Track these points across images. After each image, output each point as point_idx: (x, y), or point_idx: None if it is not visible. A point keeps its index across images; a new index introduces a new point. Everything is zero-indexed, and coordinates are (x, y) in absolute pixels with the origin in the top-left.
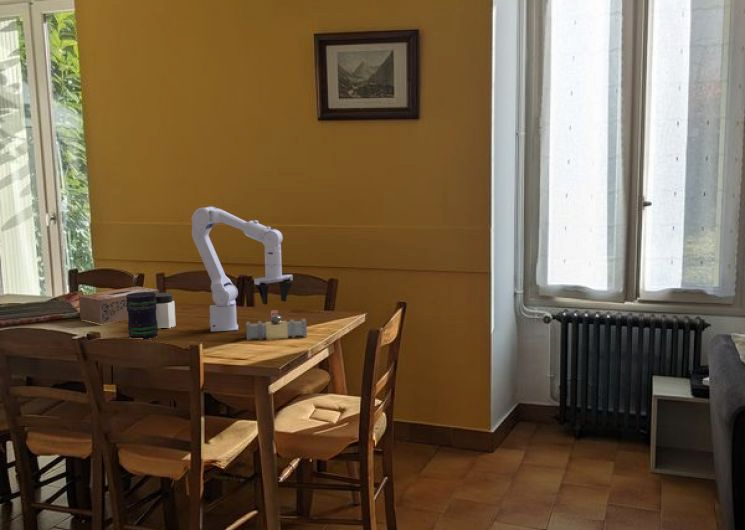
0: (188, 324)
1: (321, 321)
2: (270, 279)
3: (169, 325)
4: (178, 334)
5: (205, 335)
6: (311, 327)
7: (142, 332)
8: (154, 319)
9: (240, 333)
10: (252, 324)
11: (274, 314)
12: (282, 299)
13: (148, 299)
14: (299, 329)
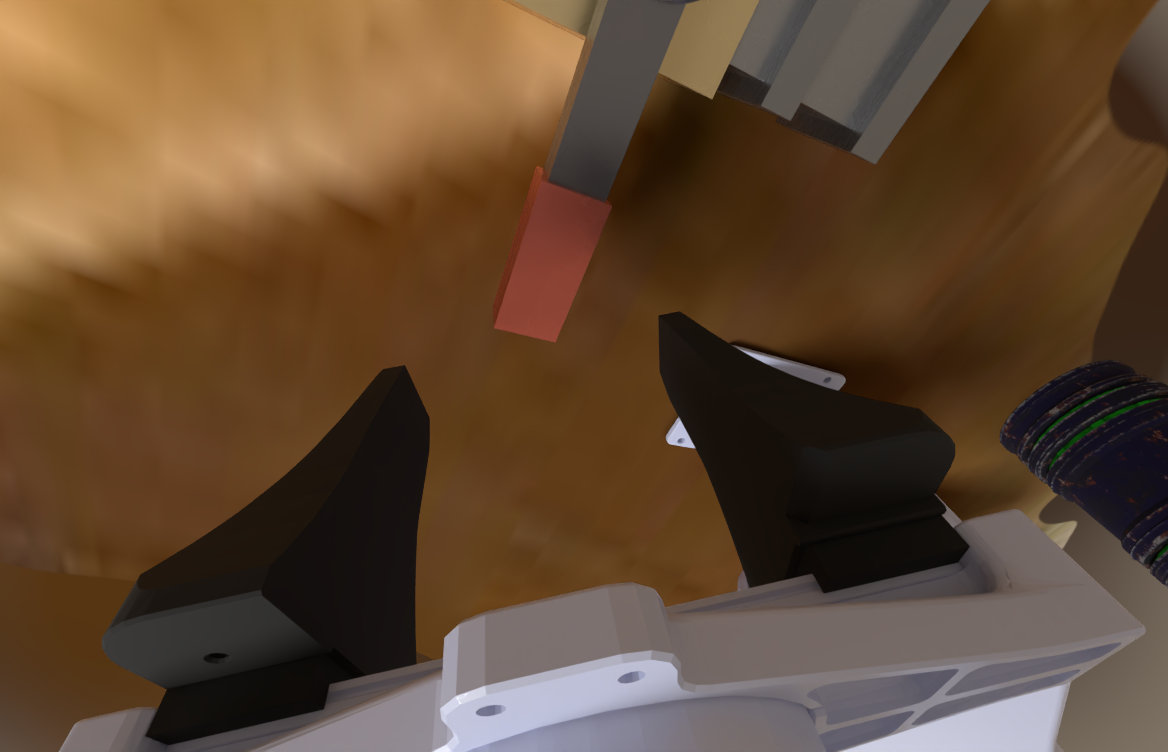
0: None
1: (60, 331)
2: (811, 638)
3: None
4: (957, 394)
5: (911, 319)
6: (168, 154)
7: (1161, 382)
8: (1147, 444)
9: (758, 266)
10: (861, 75)
11: (611, 133)
12: (418, 413)
13: None
14: None
